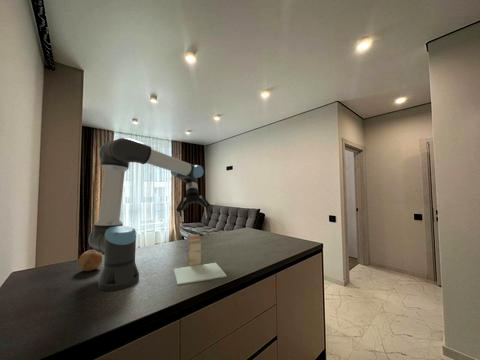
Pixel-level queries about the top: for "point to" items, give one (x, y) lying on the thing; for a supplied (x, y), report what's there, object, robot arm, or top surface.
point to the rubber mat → (198, 273)
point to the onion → (90, 260)
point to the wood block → (194, 250)
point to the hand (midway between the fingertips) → (194, 219)
